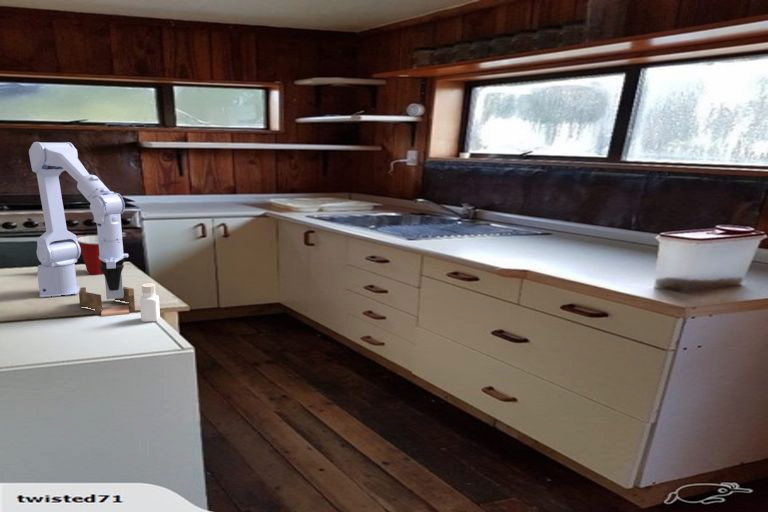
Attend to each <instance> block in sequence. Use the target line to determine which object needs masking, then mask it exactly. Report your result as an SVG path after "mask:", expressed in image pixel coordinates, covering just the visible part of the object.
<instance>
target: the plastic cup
mask: <svg viewBox="0 0 768 512" xmlns="http://www.w3.org/2000/svg"><path fill="white" fill-rule="evenodd" d="M77 241H78V244H79V245H80V248H81V254H82V258H83V261H84V265H85V269H86V272H87V274H88V275H91V276H92V275H93V276H98V275H104V274H103V272H102V271H101V269H100V265H102V263H101V261H102V260H100V259H99V255H100V254H99V243H98V235H87V236H86V235H85V236H81V237H78V238H77Z"/></svg>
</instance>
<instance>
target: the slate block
mask: <svg viewBox="0 0 768 512" xmlns="http://www.w3.org/2000/svg"><path fill="white" fill-rule="evenodd" d="M123 280H124V279H123V271H122V272H121V275H120V283H119V289H118V290H114V291H110V290H109V287H108V284H107V281H106V278H105V277H104V281H105V295H106V300H114V299H116V298H123V295H124V293H123V287H124V283H123Z"/></svg>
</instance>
